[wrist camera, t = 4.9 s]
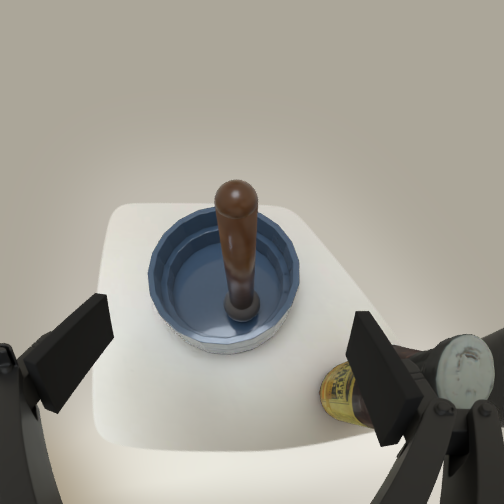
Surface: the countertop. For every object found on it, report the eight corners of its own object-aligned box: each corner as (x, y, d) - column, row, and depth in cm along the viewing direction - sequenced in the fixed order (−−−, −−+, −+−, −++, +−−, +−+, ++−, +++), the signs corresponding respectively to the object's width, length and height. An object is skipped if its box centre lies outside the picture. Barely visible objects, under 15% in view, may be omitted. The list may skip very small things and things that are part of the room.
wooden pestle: (218, 305, 30) (184, 182, 14) (246, 286, 31) (244, 151, 15) (238, 332, 29) (224, 231, 13) (266, 312, 30) (289, 193, 14)
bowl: (290, 239, 36) (297, 210, 30) (289, 358, 29) (299, 348, 23) (175, 233, 36) (164, 203, 31) (155, 346, 29) (135, 334, 24)
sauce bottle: (345, 352, 29) (463, 274, 12) (382, 391, 27) (524, 352, 9) (301, 394, 27) (393, 377, 9) (340, 434, 25) (469, 459, 7)
